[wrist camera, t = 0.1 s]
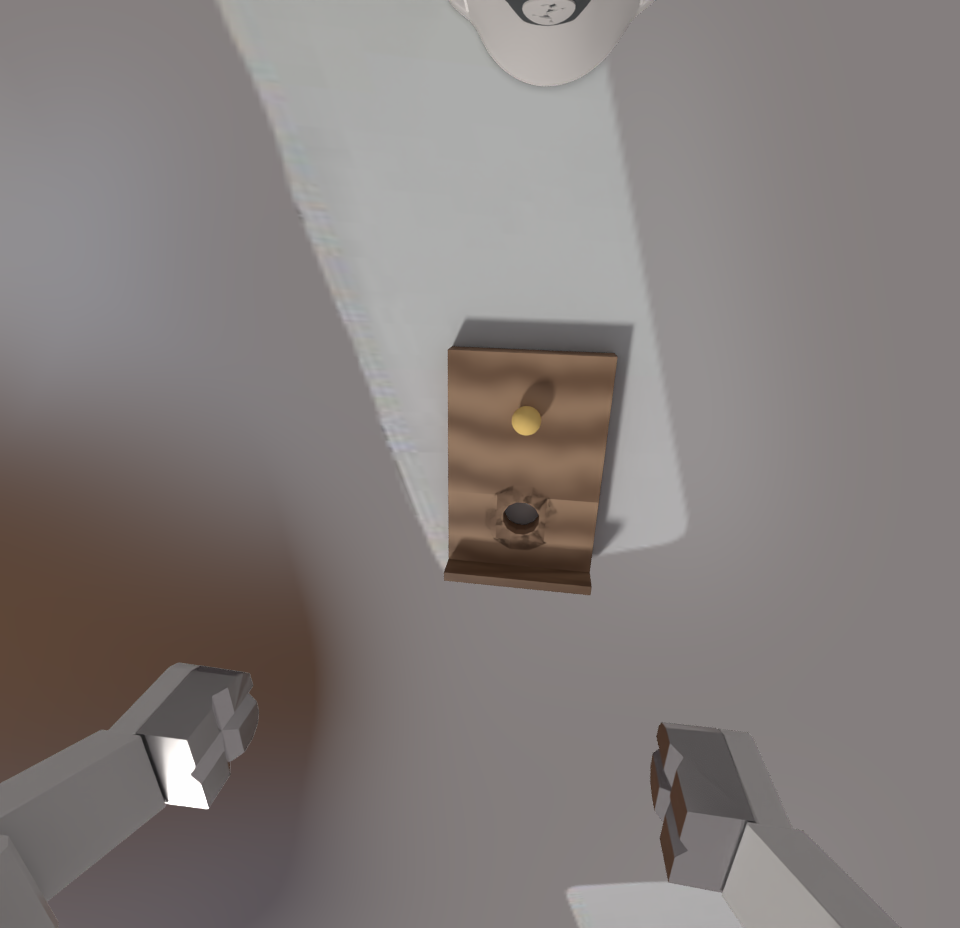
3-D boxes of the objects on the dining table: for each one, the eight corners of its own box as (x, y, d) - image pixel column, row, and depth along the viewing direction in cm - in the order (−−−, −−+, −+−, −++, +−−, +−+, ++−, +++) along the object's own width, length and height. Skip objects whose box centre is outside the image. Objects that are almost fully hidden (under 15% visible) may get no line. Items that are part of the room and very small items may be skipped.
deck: (452, 346, 54) (442, 354, 49) (614, 353, 52) (621, 362, 47) (452, 556, 65) (444, 580, 60) (587, 568, 63) (590, 595, 58)
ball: (513, 401, 53) (511, 409, 50) (542, 403, 53) (542, 411, 50) (512, 429, 55) (510, 438, 52) (540, 431, 54) (539, 440, 51)
